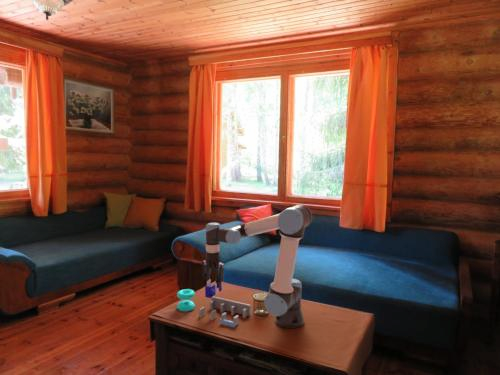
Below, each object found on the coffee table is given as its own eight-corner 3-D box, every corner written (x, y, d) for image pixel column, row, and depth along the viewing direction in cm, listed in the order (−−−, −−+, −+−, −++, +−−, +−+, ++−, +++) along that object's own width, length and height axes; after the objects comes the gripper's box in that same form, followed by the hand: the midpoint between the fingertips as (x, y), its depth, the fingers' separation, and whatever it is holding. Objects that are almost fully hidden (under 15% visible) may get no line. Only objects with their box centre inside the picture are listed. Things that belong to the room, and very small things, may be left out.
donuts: (185, 296, 201) (173, 292, 207) (185, 314, 202) (173, 309, 208) (198, 291, 209) (186, 286, 215) (198, 307, 210) (186, 303, 216)
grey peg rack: (250, 315, 202) (250, 304, 201) (236, 328, 187) (236, 316, 186) (212, 306, 213) (212, 296, 212) (196, 317, 198) (196, 306, 197)
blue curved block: (214, 289, 207) (214, 278, 207) (221, 290, 205) (221, 280, 205) (203, 296, 197) (202, 285, 196) (210, 298, 195) (209, 287, 194)
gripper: (230, 251, 198) (230, 293, 201) (203, 247, 206) (203, 287, 209) (223, 255, 192) (223, 298, 194) (195, 250, 199) (195, 292, 202)
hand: (212, 292), depth 201 cm, fingers closed on blue curved block, 4 cm apart
